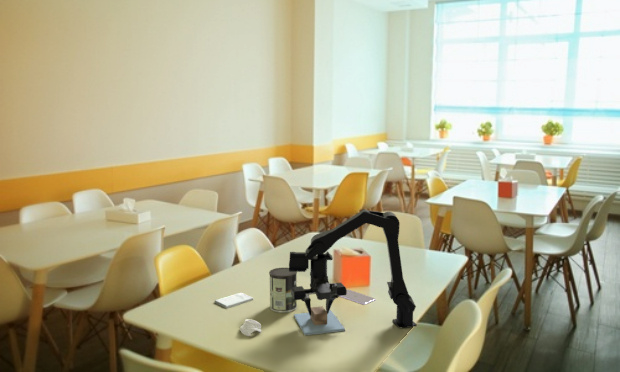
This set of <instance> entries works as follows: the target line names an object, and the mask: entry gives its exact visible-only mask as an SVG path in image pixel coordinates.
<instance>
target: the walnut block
mask: <svg viewBox="0 0 620 372" xmlns="http://www.w3.org/2000/svg"><path fill="white" fill-rule="evenodd" d="M310 319H311V320H312V322H313V323H314V325H322V324H327V312H326V308H324V307H323V306H313V307H311V316H310Z"/></svg>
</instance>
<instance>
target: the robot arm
mask: <svg viewBox="0 0 620 372" xmlns="http://www.w3.org/2000/svg"><path fill="white" fill-rule="evenodd" d="M366 224H369V225H372V226H375V227H377V228H381V229H382V231H383V234H384V236H385V239H386V246H387V253H388V259H389V262H388V263H389V269H390V276H391V277H390V281H387V282H386V285H387V287H388V291H387V293H388V295H389V298H390V300H392V302H393V303H394V305H396V318H393V319H392V322H393V323H394V324H395V325H396V326H397V327H398V328H399V329H402V328H403V329H404V328H413V327H417V326H418V325H417V323H416V322H415V321H414V312H415V310H416V307H417V306H416V304H415V302H414V300H413V298H412V296H411V295H410V294H409V292H408V287H407V285H406V283H405V280H404V274H403V268H402V261H401V253H400V252H401V251H400V245H399V236H400V224H401V223H400V220H399V218H398V217H397V215H396V214H395V213H394V212H392V211H385V212H383V211H382V212H381V211H375V210H368V209H362V210H360V211H359V212H358V213H356V214H355V215H353V216H351V217H349V218H348V219H346V220H345V221H343V222H341V223H340V224H337V226H334V227H333V228H331V229H329V230H326V231H325V230H323V231H322V232H319V233H316V234H314V235H313V236H312V238H311V239H310V244H309V245H308V247H307V248H306V249H305V250H304V252H302V251H301V252H298V251H296V252H295V251H289V261H288V268H289V272H297V273H300V272H301V273H305V272H306V271H308V270H309V268H310V272H309V276H310V283H309V287H310V288H304V287H303V286H302V285H300V286H297V287H292V289H291V295H292V297H293V298H294V300H297V301H300V300H301V301H302V302H304V304H305V307H306V311H307V313H309V315H310V316H311V308H312V307H311V306H312V305H311V301H312V299H311V298H310V295H316V299H317V300H318V301H323V300H325V310H326V312H327V314H328V313H329V310H331V307H332V305H333V303H334V301H335V300H336V299H338V298H339V297H340V296H342V295H347V290H348V289H347V287H346V286H345V285H344V284H343V283H342V282H334V283H333V282H329V276H328V261H332V260H333V258H334V257H333V255H332V254H331V253H330V252H329V249H331V248H332V247H333V246H334V244H336V243H337V242H338V240H339V241H340V240H341V239H342V238H344V237H346V236H347V235H349V234H350V233H352V232H354V231H356V230H357V229H359V228H361V227H362V226H364V225H366ZM309 262H310V264H309ZM309 265H310V267H309Z"/></svg>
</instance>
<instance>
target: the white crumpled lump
mask: <svg viewBox="0 0 620 372" xmlns="http://www.w3.org/2000/svg"><path fill="white" fill-rule="evenodd" d="M261 328H262V325H261V323H260V322H259V321H257V320H254V319H251V318H250V319H247V318H246V319H245V320H244V323H243V324H242V325H241V326H240V327H239V330H240V332H241V334H242V335H244V336H246V337H250V336H251V334H253V333H254V332H258V333H262V329H261Z"/></svg>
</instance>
